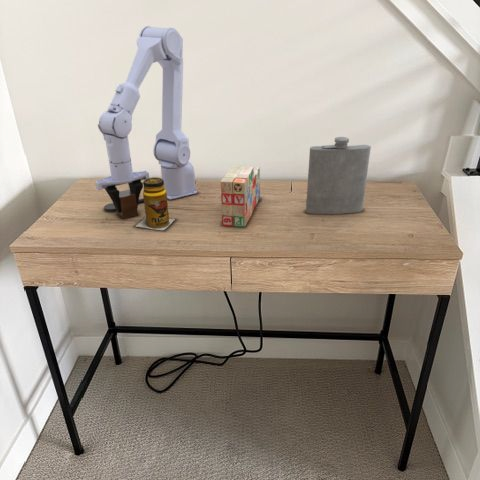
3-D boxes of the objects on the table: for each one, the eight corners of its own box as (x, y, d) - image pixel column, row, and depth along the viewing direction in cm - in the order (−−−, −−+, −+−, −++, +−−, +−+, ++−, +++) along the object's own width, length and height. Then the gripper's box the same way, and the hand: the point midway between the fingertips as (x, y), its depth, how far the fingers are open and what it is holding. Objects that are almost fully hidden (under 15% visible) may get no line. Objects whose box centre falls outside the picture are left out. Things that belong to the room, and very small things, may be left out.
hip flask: (360, 207, 144) (370, 134, 132) (364, 213, 140) (374, 139, 129) (304, 209, 143) (309, 136, 131) (307, 215, 140) (312, 140, 128)
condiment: (164, 230, 132) (159, 186, 125) (135, 227, 134) (128, 183, 128) (175, 220, 138) (171, 176, 131) (147, 216, 140) (141, 173, 133)
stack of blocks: (239, 196, 152) (239, 155, 145) (260, 198, 150) (260, 156, 143) (221, 225, 134) (220, 180, 127) (244, 227, 133) (244, 182, 126)
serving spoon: (152, 196, 152) (151, 193, 152) (158, 201, 149) (158, 198, 149) (102, 208, 145) (101, 205, 145) (108, 213, 142) (107, 210, 142)
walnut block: (138, 215, 141) (135, 194, 137) (123, 218, 139) (120, 197, 135) (131, 210, 144) (128, 189, 140) (117, 213, 142) (113, 192, 138)
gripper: (139, 151, 139) (144, 199, 147) (87, 161, 132) (96, 210, 140) (150, 158, 134) (155, 207, 142) (97, 168, 127) (106, 219, 135)
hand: (127, 209), depth 140 cm, fingers closed on walnut block, 4 cm apart
